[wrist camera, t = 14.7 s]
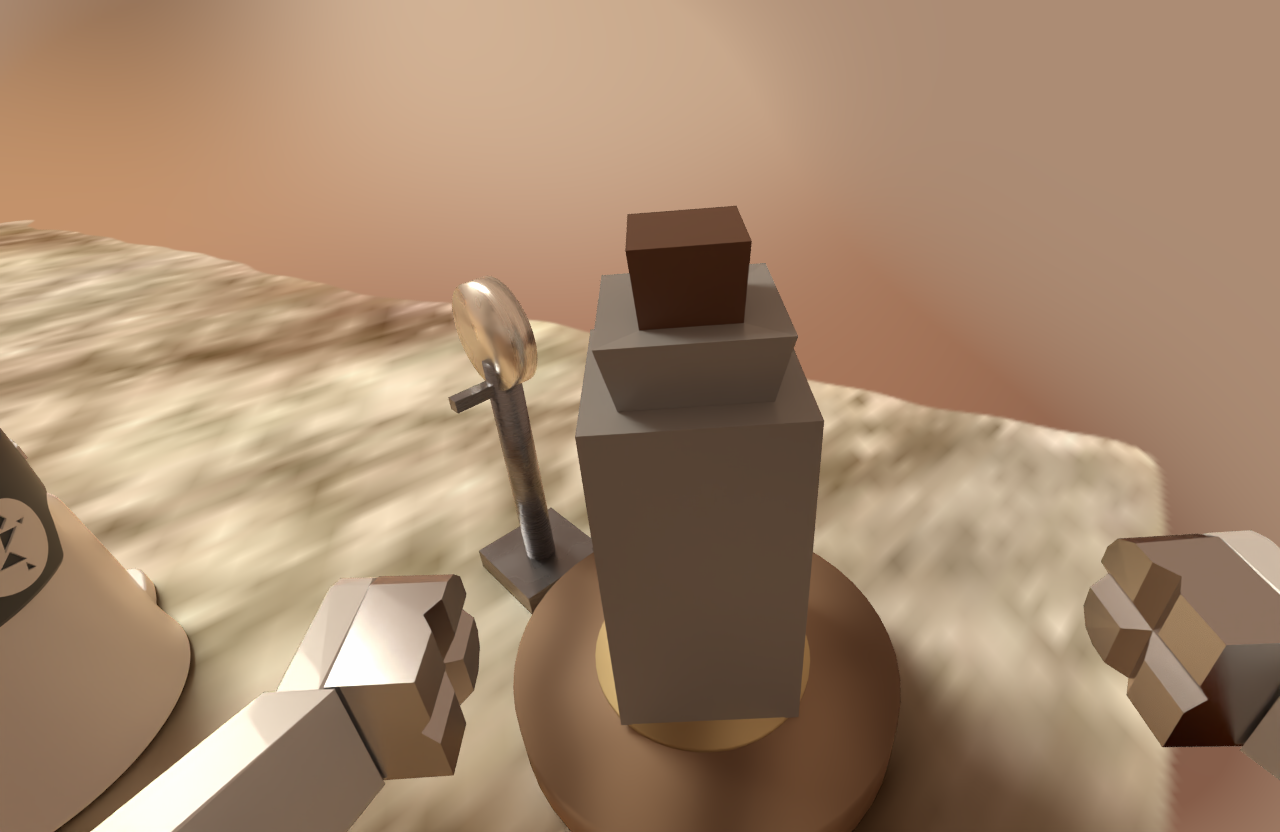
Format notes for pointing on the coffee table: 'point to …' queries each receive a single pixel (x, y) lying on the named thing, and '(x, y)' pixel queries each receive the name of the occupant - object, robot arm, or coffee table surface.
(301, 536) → the coffee table surface
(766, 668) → the perfume bottle
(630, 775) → the turntable
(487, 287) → the dial indicator
